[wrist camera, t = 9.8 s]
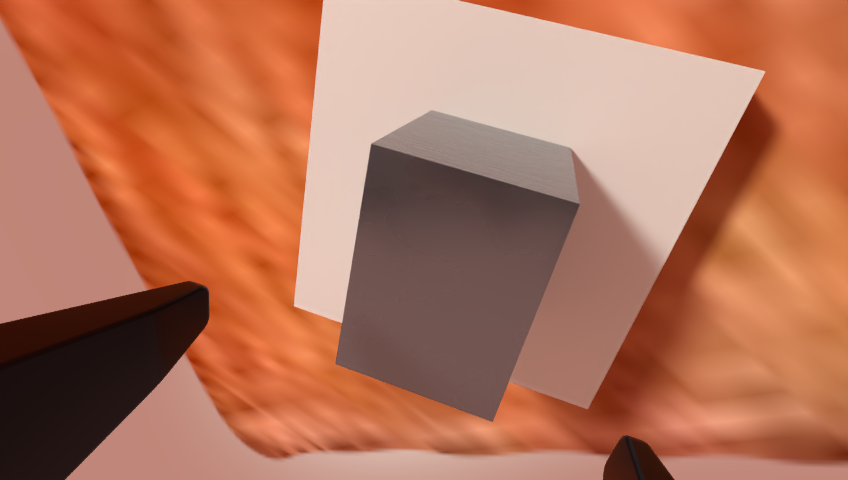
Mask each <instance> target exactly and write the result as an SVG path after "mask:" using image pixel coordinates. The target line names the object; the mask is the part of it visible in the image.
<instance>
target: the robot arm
mask: <svg viewBox="0 0 848 480" xmlns="http://www.w3.org/2000/svg"><path fill="white" fill-rule="evenodd" d="M208 320H209V290H208V288H207V287H206V286H204V285H201V284H198V283H196V282H192V281H186V282H182V283H178V284H173V285H169V286H164V287H160V288H156V289H151V290H147V291H143V292H138V293H134V294H129V295H125V296H120V297H116V298H112V299H107V300H103V301H98V302H94V303H90V304H85V305H81V306H77V307H72V308H68V309H63V310H59V311H54V312H50V313H46V314H42V315H37V316H32V317H28V318H24V319H20V320H15V321H11V322H6V323H2V324H0V480H65V479H66V478H67V477H68V476H69V475H70V474H71V473H72V472H73V471H74V470H75V469H76V468H77V467H78V466H79V465H80V464H81V463H82V462H83V461H84V460H85V459H86V458H87V457H88V456H89V455H90V453H92V452H93V451H94V450H95V449H96V448H97V446H99V444H100V443H101V442H102V441H103V440H104V439H105V438H106V437H107V436H108V435H109V434H110V433H111V432H112V431H113V430H114V429H115V428H116V427H117V426H118V425H119V424H120V423H121V422H122V421H123V420H124V419H125V418H126V417H127V416H128V415H129V414H130V413H131V412H132V411H133V410H134V409H135V408H136V407H137V406H138V405H139V404H140V403H141V402H142V401H143V400H144V399H145V398H146V397H147V396H148V395H149V394H150V393H151V392H152V390H153V389H154V388H155V387H156V386H157V385H158V384H159V383H160V382H161V381H162V380H163V378H164V377H165V376H166V375H167V374H168V373H169V371H170V370H171V369H172V368H173V366H174V365H175V364H176V363H177V361H178V360H179V359H180V358H181V357H182V355H183V354H184V353H185V352H186V350H187V349H188V348H189V347H190V345H191V344H192V343H193V342H194V340H195V339H196V338H197V337H198V336H199V334H200V333H201V332H202V331H203V329H204V328H205V327H206V325H207V323H208ZM603 480H674V478H673V477H672V476H671V474H670V473H669V472H668V471H667V469H666V468H665V466H664V465H663V464H662V462H661V461H660V460H659V458H658V457H657V455H656V454H655V453H654V451H653V450H652V449H651V447H650V446H649V445H648V444H647V443H646V442H644V441H642V440H639V439H636V438H633V437H630V436H623V437H622V438H621V439H620V440H619V442H618V443H617V445H616V447H615V448H614V450H613V452H612V453H611V455H610V457H609V458H608V460H607V462H606V464H605V468H604V473H603Z"/></svg>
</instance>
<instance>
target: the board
mask: <svg viewBox="0 0 848 480" xmlns="http://www.w3.org/2000/svg"><path fill="white" fill-rule="evenodd" d="M764 73H765V71H762V70H757V69H753V68H749V67H744V66H740V65H736V64H731V63H727V62H723V61H718V60H714V59H710V58H705V57H701V56H697V55H692V54H688V53H684V52H679V51H675V50H671V49H666V48H662V47H658V46H653V45H649V44H645V43H640V42H636V41H632V40H627V39H623V38H619V37H614V36H610V35H606V34H601V33H597V32H593V31H588V30H584V29H580V28H575V27H571V26H567V25H562V24H558V23H554V22H549V21H545V20H541V19H536V18H532V17H528V16H523V15H519V14H515V13H510V12H506V11H502V10H497V9H493V8H489V7H484V6H480V5H476V4H471V3H467V2H463V1H458V0H323V10H322V20H321V30H320V41H319V51H318V61H317V72H316V82H315V93H314V103H313V113H312V124H311V134H310V144H309V155H308V165H307V176H306V186H305V196H304V207H303V217H302V228H301V238H300V248H299V259H298V269H297V279H296V290H295V300H294V306H295V307H298V308H301V309H303V310H306V311H309V312H312V313H315V314H318V315H320V316H323V317H326V318H329V319H332V320H335V321H337V322H340V323H342V320H343V314H344V308H345V302H346V296H347V289H348V283H349V277H350V271H351V265H352V258H353V252H354V246H355V240H356V234H357V228H358V221H359V215H360V209H361V203H362V197H363V190H364V184H365V178H366V172H367V166H368V160H369V153H370V147H371V143H373V142H375V141H377V140H379V139H380V138H382V137H384V136H386V135H388V134H389V133H391V132H393V131H395V130H397V129H398V128H400V127H402V126H404V125H406V124H407V123H409V122H411V121H413V120H415V119H416V118H418V117H420V116H422V115H424V114H426V113H427V112H429V111H431V110H433V111H437V112H441V113H444V114H448V115H452V116H455V117H459V118H463V119H466V120H470V121H474V122H477V123H481V124H485V125H489V126H492V127H496V128H500V129H503V130H507V131H511V132H514V133H518V134H522V135H525V136H529V137H533V138H536V139H540V140H544V141H547V142H551V143H555V144H558V145H562V146H566V147H569V148H571V153H572V159H573V165H574V171H575V177H576V183H577V189H578V195H579V201H580V205H579V208H578V210H577V213H576V215H575V218H574V220H573V223H572V225H571V228H570V230H569V233H568V235H567V238H566V240H565V243H564V245H563V248H562V250H561V253H560V255H559V258H558V260H557V263H556V265H555V268H554V270H553V273H552V275H551V278H550V280H549V283H548V285H547V288H546V290H545V293H544V295H543V298H542V300H541V303H540V305H539V308H538V310H537V313H536V315H535V317H534V320H533V322H532V325H531V327H530V330H529V332H528V335H527V337H526V340H525V342H524V345H523V347H522V350H521V352H520V355H519V357H518V360H517V362H516V365H515V367H514V370H513V372H512V375H511V377H510V380H509V382H511V383H514V384H517V385H519V386H522V387H525V388H528V389H531V390H534V391H536V392H539V393H542V394H545V395H548V396H551V397H554V398H556V399H559V400H562V401H565V402H568V403H571V404H573V405H576V406H579V407H582V408H585V409H588V408H589V406H590V404H591V402H592V400H593V399H594V397H595V395H596V393H597V391H598V389H599V387H600V385H601V383H602V381H603V380H604V378H605V376H606V374H607V372H608V370H609V368H610V366H611V364H612V362H613V361H614V359H615V357H616V355H617V353H618V351H619V349H620V347H621V345H622V343H623V341H624V340H625V338H626V336H627V334H628V332H629V330H630V328H631V326H632V324H633V322H634V321H635V319H636V317H637V315H638V313H639V311H640V309H641V307H642V305H643V303H644V302H645V300H646V298H647V296H648V294H649V292H650V290H651V288H652V286H653V284H654V283H655V281H656V279H657V277H658V275H659V273H660V271H661V269H662V267H663V265H664V264H665V262H666V260H667V258H668V256H669V254H670V252H671V250H672V248H673V246H674V244H675V243H676V241H677V239H678V237H679V235H680V233H681V231H682V229H683V227H684V225H685V224H686V222H687V220H688V218H689V216H690V214H691V212H692V210H693V208H694V206H695V205H696V203H697V201H698V199H699V197H700V195H701V193H702V191H703V189H704V187H705V186H706V184H707V182H708V180H709V178H710V176H711V174H712V172H713V170H714V168H715V167H716V165H717V163H718V161H719V159H720V157H721V155H722V153H723V151H724V149H725V148H726V146H727V144H728V142H729V140H730V138H731V136H732V134H733V132H734V130H735V128H736V127H737V125H738V123H739V121H740V119H741V117H742V115H743V113H744V111H745V109H746V108H747V106H748V104H749V102H750V100H751V98H752V96H753V94H754V92H755V90H756V89H757V87H758V85H759V83H760V81H761V79H762V77H763V75H764Z"/></svg>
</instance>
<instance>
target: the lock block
mask: <svg viewBox="0 0 848 480" xmlns="http://www.w3.org/2000/svg"><path fill="white" fill-rule="evenodd" d="M579 205H580V201H579V195H578V189H577V183H576V177H575V171H574V165H573V159H572V153H571V148H569V147H566V146H562V145H558V144H555V143H551V142H547V141H544V140H540V139H536V138H533V137H529V136H525V135H522V134H518V133H514V132H511V131H507V130H503V129H500V128H496V127H492V126H489V125H485V124H481V123H477V122H474V121H470V120H466V119H463V118H459V117H455V116H452V115H448V114H444V113H441V112H437V111H433V110H431V111H429V112H427V113H426V114H424V115H422V116H420V117H418V118H416V119H415V120H413V121H411V122H409V123H407V124H406V125H404V126H402V127H400V128H398V129H397V130H395V131H393V132H391V133H389V134H388V135H386V136H384V137H382V138H380V139H379V140H377V141H375V142H373V143H371V147H370V153H369V160H368V166H367V172H366V178H365V184H364V190H363V197H362V203H361V209H360V215H359V221H358V228H357V234H356V240H355V246H354V252H353V258H352V265H351V271H350V277H349V283H348V289H347V296H346V302H345V308H344V314H343V320H342V326H341V333H340V339H339V345H338V351H337V357H336V364H337V365H340V366H342V367H345V368H348V369H351V370H353V371H356V372H359V373H361V374H364V375H367V376H370V377H372V378H375V379H378V380H380V381H383V382H386V383H389V384H391V385H394V386H397V387H399V388H402V389H405V390H408V391H410V392H413V393H416V394H418V395H421V396H424V397H427V398H429V399H432V400H435V401H437V402H440V403H443V404H446V405H448V406H451V407H454V408H456V409H459V410H462V411H465V412H467V413H470V414H473V415H475V416H478V417H481V418H484V419H486V420H489V421H492V422H493V420H494V417H495V415H496V412H497V410H498V407H499V405H500V402H501V400H502V397H503V395H504V392H505V390H506V387H507V385H508V382H509V380H510V377H511V375H512V372H513V370H514V367H515V365H516V362H517V360H518V357H519V355H520V352H521V350H522V347H523V345H524V342H525V340H526V337H527V335H528V332H529V330H530V327H531V325H532V322H533V320H534V317H535V315H536V313H537V310H538V308H539V305H540V303H541V300H542V298H543V295H544V293H545V290H546V288H547V285H548V283H549V280H550V278H551V275H552V273H553V270H554V268H555V265H556V263H557V260H558V258H559V255H560V253H561V250H562V248H563V245H564V243H565V240H566V238H567V235H568V233H569V230H570V228H571V225H572V223H573V220H574V218H575V215H576V213H577V210H578V208H579Z"/></svg>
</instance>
